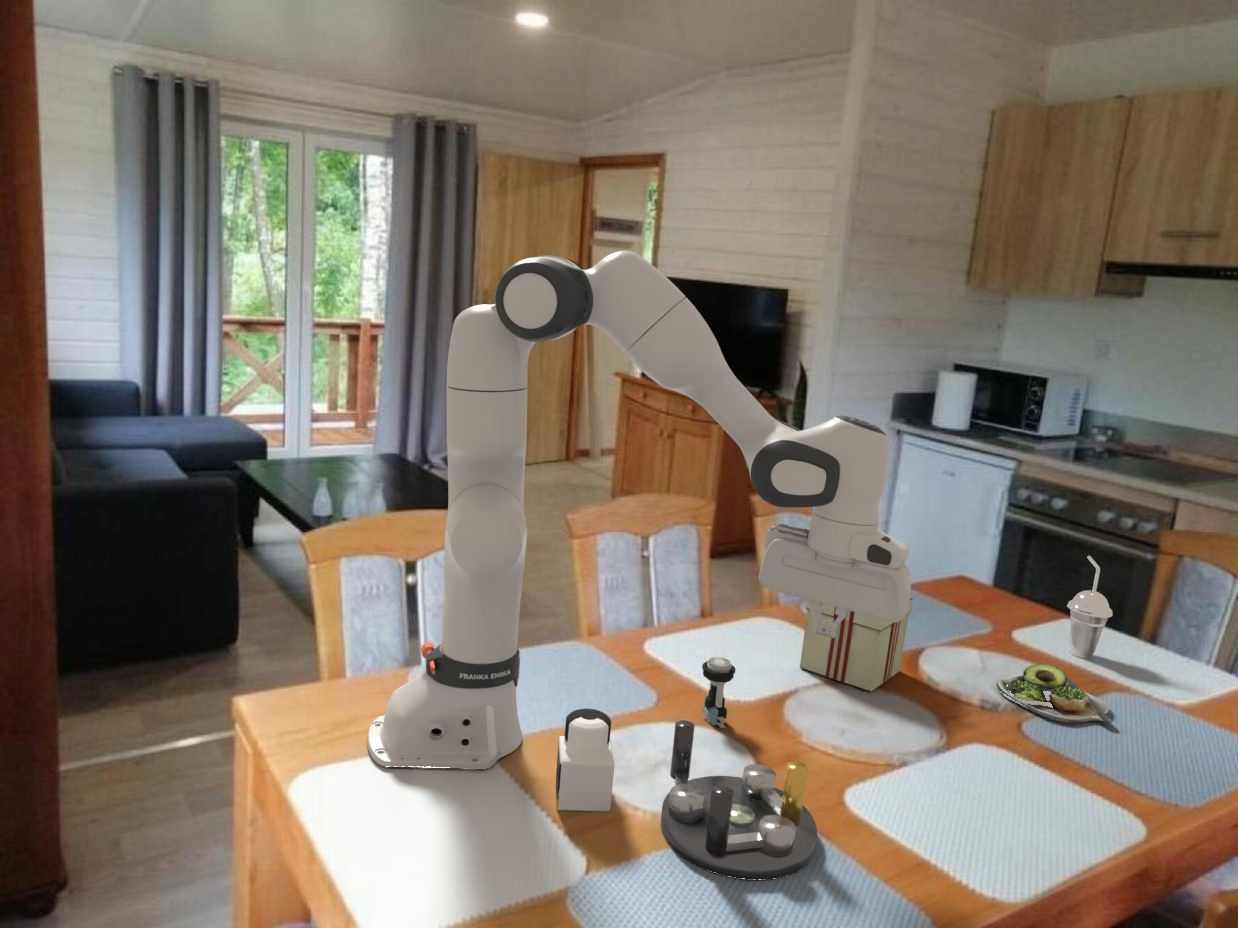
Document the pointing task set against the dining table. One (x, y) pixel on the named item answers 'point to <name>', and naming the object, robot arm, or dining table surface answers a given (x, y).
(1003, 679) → the salad plate
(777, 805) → the amber footscrew
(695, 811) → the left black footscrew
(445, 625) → the robot arm
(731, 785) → the levelling plate
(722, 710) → the push button
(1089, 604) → the cup with straw
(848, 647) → the gift box
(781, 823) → the front black footscrew
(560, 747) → the white and black device
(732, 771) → the dining table surface
